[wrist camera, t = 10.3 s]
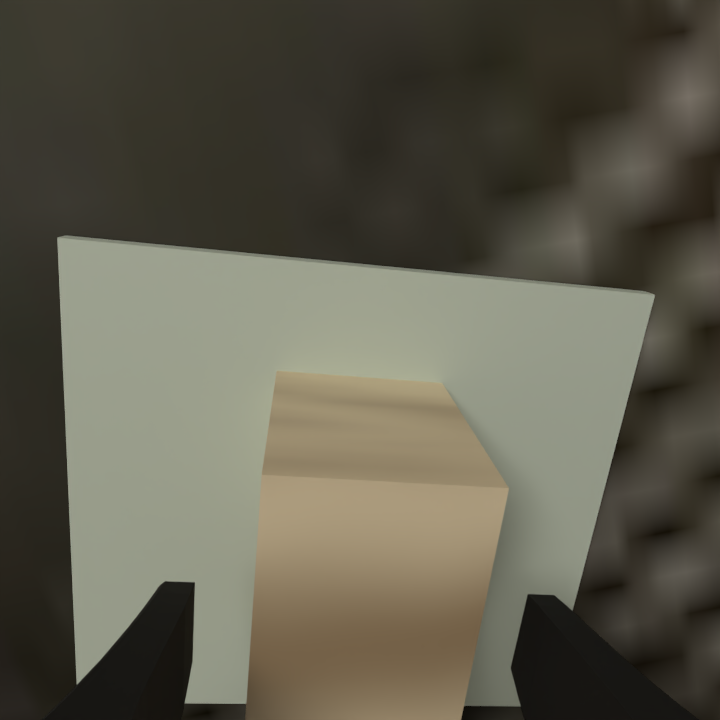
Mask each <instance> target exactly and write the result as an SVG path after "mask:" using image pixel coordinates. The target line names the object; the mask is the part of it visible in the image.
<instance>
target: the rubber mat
mask: <svg viewBox="0 0 720 720" xmlns="http://www.w3.org/2000/svg"><path fill="white" fill-rule="evenodd" d="M57 239H58V262H59V285H60V308H61V331H62V354H63V377H64V400H65V423H66V446H67V469H68V492H69V515H70V538H71V561H72V584H73V607H74V630H75V653H76V676H77V684H78V683H79V682H80V681H81V680H82V679H83V678H84V677H85V676H86V675H87V674H88V672H89V671H90V670H91V669H92V668H93V667H94V666H95V665H96V664H97V663H98V662H99V661H100V660H101V659H102V657H103V656H104V655H105V654H106V653H107V652H108V650H109V649H110V648H111V647H112V646H113V645H114V643H115V642H116V641H117V640H118V639H119V637H120V636H121V635H122V634H123V633H124V632H125V630H126V629H127V628H128V627H129V625H130V624H131V623H132V622H133V620H134V619H135V618H136V617H137V615H138V614H139V613H140V612H141V610H142V609H143V608H144V606H145V605H146V604H147V602H148V601H149V600H150V598H151V597H152V595H153V594H154V593H155V591H156V590H157V588H158V587H159V586H160V585H161V584H162V583H163V582H165V581H172V582H195V597H194V631H193V662H192V667H191V672H190V678H189V683H188V689H187V694H186V699H185V703H220V704H246V702H247V687H248V672H249V657H250V642H251V627H252V612H253V597H254V582H255V566H256V551H257V536H258V521H259V506H260V491H261V476H262V468H263V462H264V455H265V448H266V441H267V434H268V427H269V420H270V413H271V406H272V399H273V392H274V385H275V379H276V372H277V371H289V372H302V373H316V374H329V375H343V376H356V377H369V378H383V379H396V380H410V381H423V382H436V383H443V385H444V387H445V388H446V390H447V391H448V393H449V394H450V396H451V398H452V399H453V401H454V402H455V404H456V405H457V407H458V409H459V410H460V412H461V413H462V415H463V416H464V418H465V420H466V421H467V423H468V424H469V426H470V428H471V429H472V431H473V432H474V434H475V435H476V437H477V439H478V440H479V442H480V443H481V445H482V446H483V448H484V450H485V451H486V453H487V454H488V456H489V457H490V459H491V461H492V462H493V464H494V465H495V467H496V468H497V470H498V472H499V473H500V475H501V476H502V478H503V479H504V481H505V483H506V484H507V486H508V487H509V491H508V496H507V501H506V506H505V510H504V515H503V520H502V525H501V530H500V534H499V539H498V544H497V549H496V554H495V559H494V563H493V568H492V573H491V578H490V583H489V587H488V592H487V597H486V602H485V607H484V612H483V616H482V621H481V626H480V631H479V636H478V640H477V645H476V650H475V655H474V660H473V665H472V669H471V674H470V679H469V684H468V689H467V693H466V698H465V703H464V706H521V705H520V702H519V698H518V695H517V691H516V687H515V683H514V679H513V675H512V671H511V664H512V660H513V655H514V651H515V647H516V642H517V638H518V634H519V629H520V625H521V621H522V617H523V612H524V608H525V604H526V599H527V595H528V594H540V595H555V596H556V597H557V598H558V599H559V600H561V601H562V602H563V603H564V604H565V605H566V606H567V607H569V608H570V609H571V610H572V611H573V607H574V603H575V599H576V596H577V592H578V588H579V584H580V580H581V576H582V573H583V569H584V565H585V561H586V557H587V553H588V550H589V546H590V542H591V538H592V534H593V530H594V527H595V523H596V519H597V515H598V511H599V507H600V504H601V500H602V496H603V492H604V488H605V484H606V481H607V477H608V473H609V469H610V465H611V462H612V458H613V454H614V450H615V446H616V442H617V439H618V435H619V431H620V427H621V423H622V419H623V416H624V412H625V408H626V404H627V400H628V396H629V393H630V389H631V385H632V381H633V377H634V373H635V370H636V366H637V362H638V358H639V354H640V350H641V347H642V343H643V339H644V335H645V331H646V327H647V324H648V320H649V316H650V312H651V308H652V304H653V301H654V297H655V295H654V294H651V293H648V292H645V291H637V290H627V289H616V288H606V287H595V286H585V285H575V284H564V283H554V282H543V281H533V280H523V279H512V278H502V277H492V276H481V275H471V274H460V273H450V272H440V271H429V270H419V269H408V268H398V267H388V266H377V265H367V264H357V263H346V262H336V261H325V260H315V259H305V258H294V257H284V256H273V255H263V254H253V253H242V252H232V251H222V250H211V249H201V248H190V247H180V246H170V245H159V244H149V243H138V242H128V241H118V240H107V239H97V238H87V237H76V236H62V237H58V238H57Z"/></svg>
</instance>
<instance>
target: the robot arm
mask: <svg viewBox="0 0 720 720" xmlns="http://www.w3.org/2000/svg"><path fill="white" fill-rule="evenodd" d="M194 597H195V582H172V581H165V582H163V583H162V584H161V585H160V586H159V587H158V588H157V590H156V591H155V593H154V594H153V595H152V597H151V598H150V600H149V601H148V602H147V604H146V605H145V606H144V608H143V609H142V610H141V612H140V613H139V614H138V615H137V617H136V618H135V619H134V620H133V622H132V623H131V624H130V625H129V627H128V628H127V629H126V630H125V632H124V633H123V634H122V635H121V636H120V637H119V639H118V640H117V641H116V642H115V643H114V645H113V646H112V647H111V648H110V649H109V650H108V652H107V653H106V654H105V655H104V656H103V657H102V659H101V660H100V661H99V662H98V663H97V664H96V665H95V666H94V667H93V668H92V669H91V670H90V671H89V672H88V674H87V675H86V676H85V677H84V678H83V679H82V680H81V681H80V682H79V683H78V684H77V685H76V686H75V687H74V688H73V689H72V690H71V692H70V693H69V694H68V695H67V696H66V697H65V698H64V699H63V700H62V701H61V702H59V703H58V704H57V705H56V706H55V707H54V708H53V709H52V710H51V711H50V712H49V713H48V714H47V715H46V716H45V717H44V718H43V719H42V720H181V717H182V714H183V709H184V704H185V699H186V694H187V689H188V683H189V678H190V672H191V667H192V662H193V631H194ZM511 671H512V675H513V679H514V683H515V687H516V691H517V695H518V698H519V702H520V705H521V709H522V712H523V716H524V718H525V720H699V719H697V718H696V717H695V716H693V715H692V714H691V713H690V712H688V711H687V710H686V709H684V708H683V707H682V706H680V705H679V704H678V703H677V702H676V701H674V700H673V699H672V698H671V697H669V696H668V695H667V694H666V693H664V692H663V691H662V690H661V689H660V688H658V687H657V686H656V685H655V684H653V683H652V682H651V681H650V680H649V679H648V678H646V677H645V676H644V675H643V674H642V673H640V672H639V671H638V670H637V669H636V668H635V667H634V666H632V665H631V664H630V663H629V662H628V661H627V660H626V659H624V658H623V657H622V656H621V655H620V654H619V653H618V652H617V651H616V650H614V649H613V648H612V647H611V646H610V645H609V644H608V643H607V642H606V641H605V640H603V639H602V638H601V637H600V636H599V635H598V634H597V633H596V632H595V631H594V630H593V629H591V628H590V627H589V626H588V625H587V624H586V623H585V622H584V621H583V620H582V619H581V618H580V617H578V616H577V615H576V614H575V613H574V612H573V611H572V610H571V609H570V608H569V607H567V606H566V605H565V604H564V603H563V602H562V601H561V600H559V599H558V598H557V597H556V596H555V595H540V594H528V595H527V599H526V604H525V608H524V612H523V617H522V621H521V625H520V629H519V634H518V638H517V642H516V647H515V651H514V655H513V660H512V664H511Z"/></svg>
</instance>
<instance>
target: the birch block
mask: <svg viewBox="0 0 720 720" xmlns="http://www.w3.org/2000/svg"><path fill="white" fill-rule="evenodd" d="M508 491H509V487H508V486H507V484H506V483H505V481H504V479H503V478H502V476H501V475H500V473H499V472H498V470H497V468H496V467H495V465H494V464H493V462H492V461H491V459H490V457H489V456H488V454H487V453H486V451H485V450H484V448H483V446H482V445H481V443H480V442H479V440H478V439H477V437H476V435H475V434H474V432H473V431H472V429H471V428H470V426H469V424H468V423H467V421H466V420H465V418H464V416H463V415H462V413H461V412H460V410H459V409H458V407H457V405H456V404H455V402H454V401H453V399H452V398H451V396H450V394H449V393H448V391H447V390H446V388H445V387H444V385H443V383H436V382H423V381H410V380H396V379H383V378H369V377H356V376H343V375H329V374H316V373H302V372H289V371H277V372H276V379H275V385H274V392H273V399H272V406H271V413H270V420H269V427H268V434H267V441H266V448H265V455H264V462H263V468H262V476H261V491H260V506H259V521H258V536H257V551H256V566H255V582H254V597H253V612H252V627H251V642H250V657H249V672H248V687H247V702H246V717H245V720H461V718H462V713H463V708H464V703H465V698H466V693H467V689H468V684H469V679H470V674H471V669H472V665H473V660H474V655H475V650H476V645H477V640H478V636H479V631H480V626H481V621H482V616H483V612H484V607H485V602H486V597H487V592H488V587H489V583H490V578H491V573H492V568H493V563H494V559H495V554H496V549H497V544H498V539H499V534H500V530H501V525H502V520H503V515H504V510H505V506H506V501H507V496H508Z"/></svg>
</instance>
